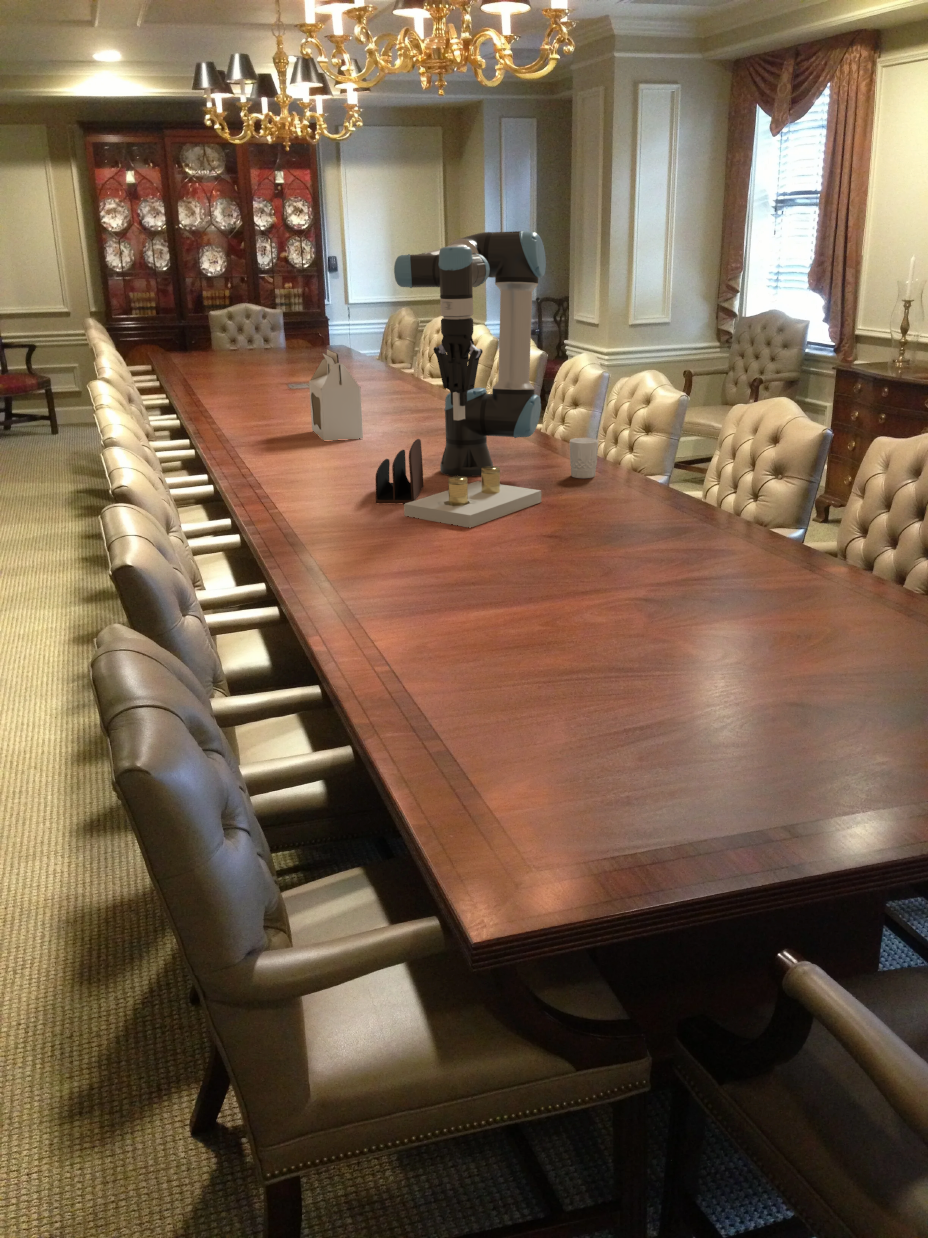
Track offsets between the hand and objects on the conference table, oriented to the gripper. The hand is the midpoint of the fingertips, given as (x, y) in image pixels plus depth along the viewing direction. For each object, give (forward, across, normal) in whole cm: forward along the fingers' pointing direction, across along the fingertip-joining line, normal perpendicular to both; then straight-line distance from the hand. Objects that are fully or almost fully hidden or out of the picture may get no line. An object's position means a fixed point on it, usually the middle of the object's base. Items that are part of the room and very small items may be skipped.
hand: (459, 419), depth 253 cm
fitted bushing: (+23, +2, +10) cm, 25 cm away
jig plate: (+23, +2, +3) cm, 23 cm away
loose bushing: (+22, +2, -4) cm, 23 cm away
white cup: (+24, +5, +50) cm, 56 cm away
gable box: (+25, -99, +60) cm, 119 cm away
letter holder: (+23, -24, +5) cm, 33 cm away
